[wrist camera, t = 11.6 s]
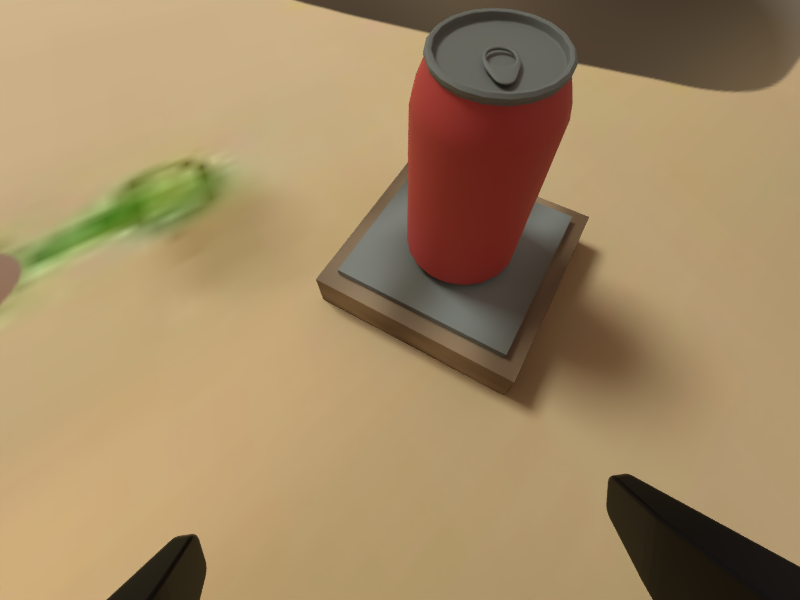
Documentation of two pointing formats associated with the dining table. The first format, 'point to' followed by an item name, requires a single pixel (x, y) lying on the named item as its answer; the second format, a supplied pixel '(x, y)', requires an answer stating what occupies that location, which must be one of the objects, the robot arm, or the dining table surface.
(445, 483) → the dining table surface
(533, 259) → the walnut stand
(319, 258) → the dining table surface
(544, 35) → the beer can
